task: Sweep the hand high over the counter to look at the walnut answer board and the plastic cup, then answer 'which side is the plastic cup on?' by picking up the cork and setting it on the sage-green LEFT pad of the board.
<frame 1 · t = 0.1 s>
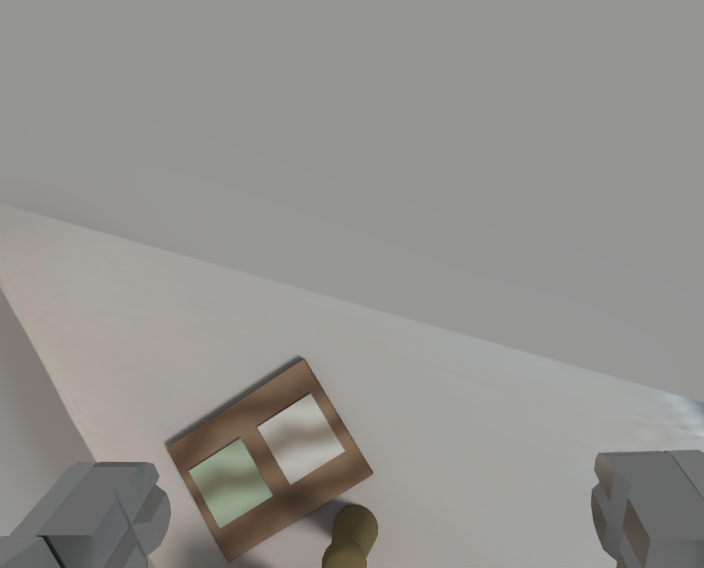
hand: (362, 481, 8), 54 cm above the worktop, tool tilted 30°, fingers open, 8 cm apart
cork: (356, 526, 61), on the worktop
answer board: (267, 458, 64), on the worktop
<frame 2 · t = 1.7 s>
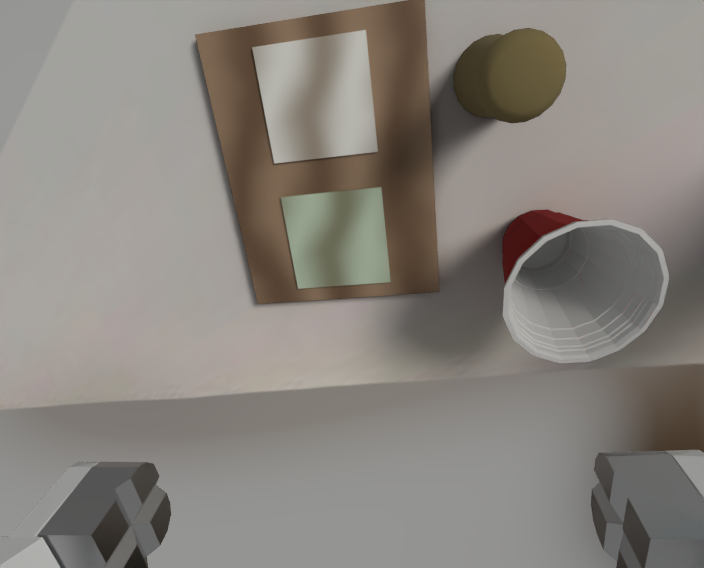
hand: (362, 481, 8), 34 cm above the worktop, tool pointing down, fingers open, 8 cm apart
plastic cup: (537, 239, 41), on the worktop
cork: (491, 77, 36), on the worktop
answer board: (329, 172, 40), on the worktop
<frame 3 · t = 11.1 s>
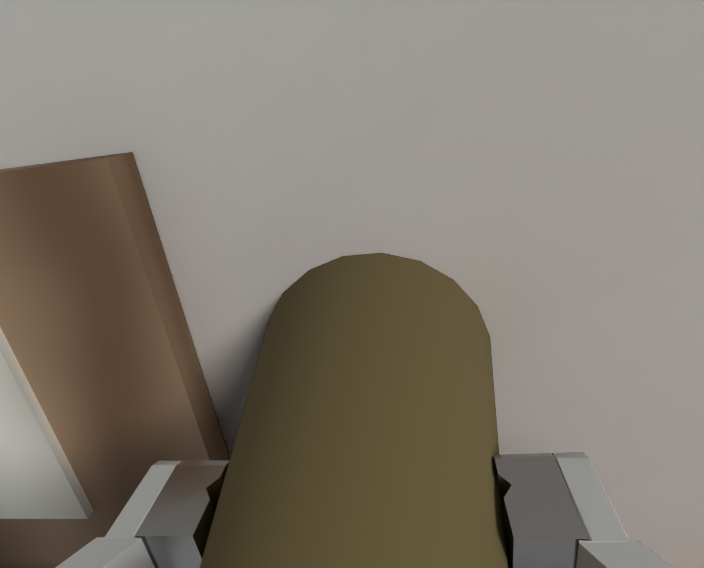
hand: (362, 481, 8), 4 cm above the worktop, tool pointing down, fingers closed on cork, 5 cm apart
cork: (375, 354, 12), on the worktop, touching gripper
answer board: (15, 516, 17), on the worktop
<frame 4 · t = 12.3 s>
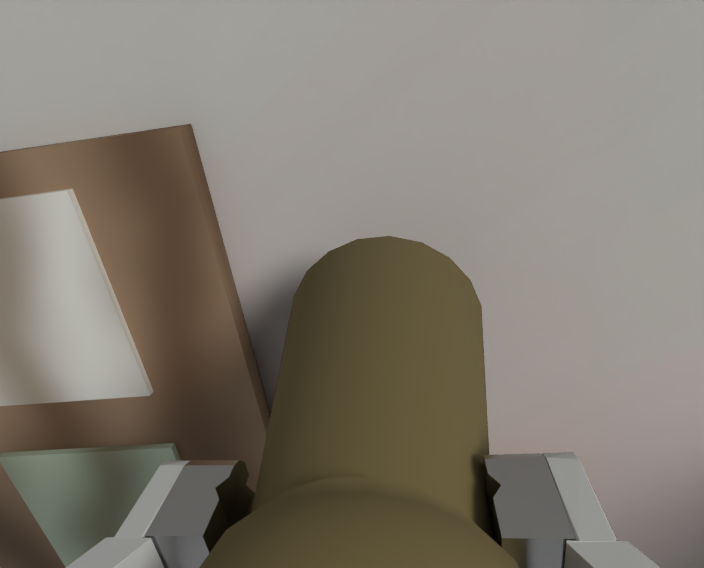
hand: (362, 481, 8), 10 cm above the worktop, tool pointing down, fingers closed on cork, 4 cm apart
cork: (384, 323, 14), point 4 cm above the worktop, touching gripper
answer board: (86, 409, 22), on the worktop
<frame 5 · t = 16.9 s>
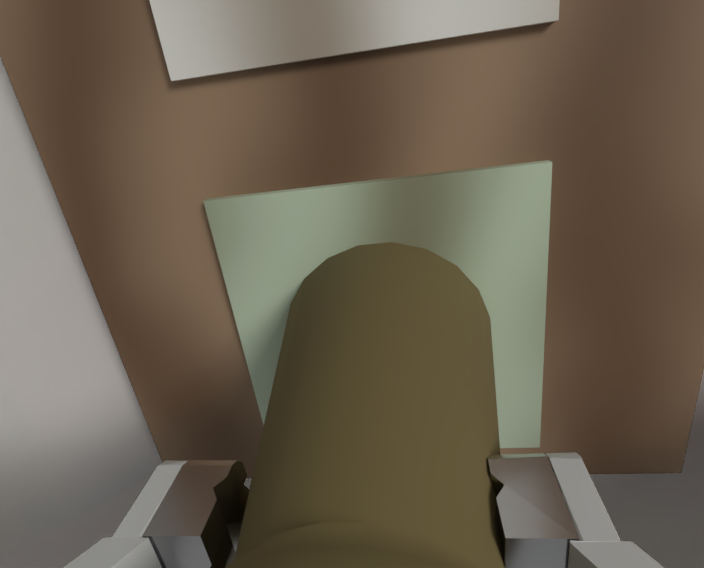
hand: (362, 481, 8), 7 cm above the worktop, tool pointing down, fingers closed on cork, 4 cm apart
cork: (387, 334, 14), point 1 cm above the worktop, touching answer board, gripper
answer board: (364, 117, 12), on the worktop
when the fingers open (7 cm above the worktop, at t = 17.5 s): cork stays where it is, resting on answer board.
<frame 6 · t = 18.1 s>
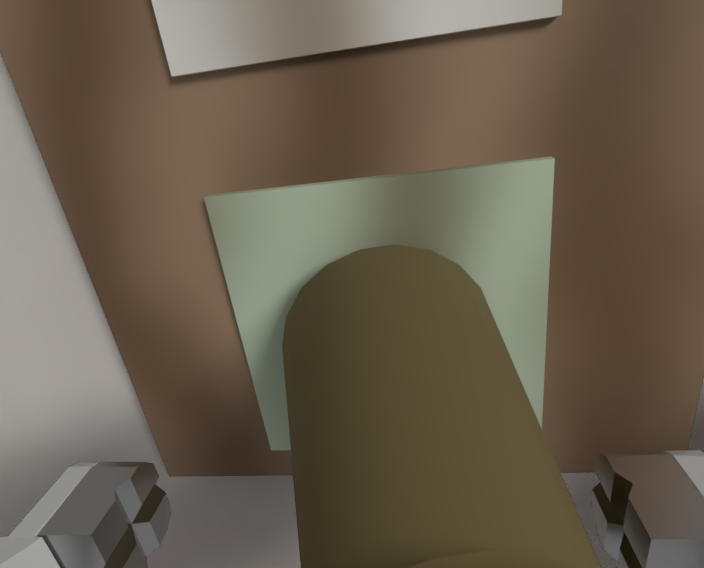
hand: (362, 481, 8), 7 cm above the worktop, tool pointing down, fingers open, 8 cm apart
cork: (387, 341, 13), point 2 cm above the worktop, touching answer board, gripper
answer board: (365, 113, 12), on the worktop
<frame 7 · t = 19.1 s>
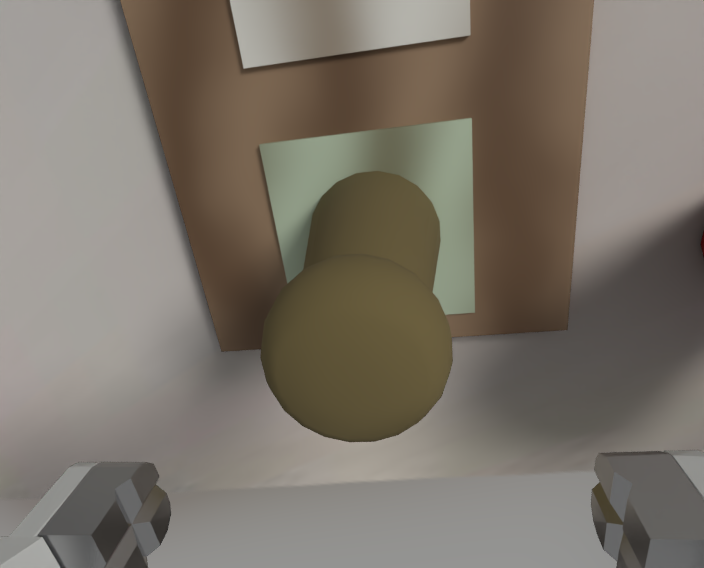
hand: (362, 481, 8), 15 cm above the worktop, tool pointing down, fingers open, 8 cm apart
cork: (374, 235, 21), point 1 cm above the worktop, touching answer board
answer board: (360, 92, 19), on the worktop
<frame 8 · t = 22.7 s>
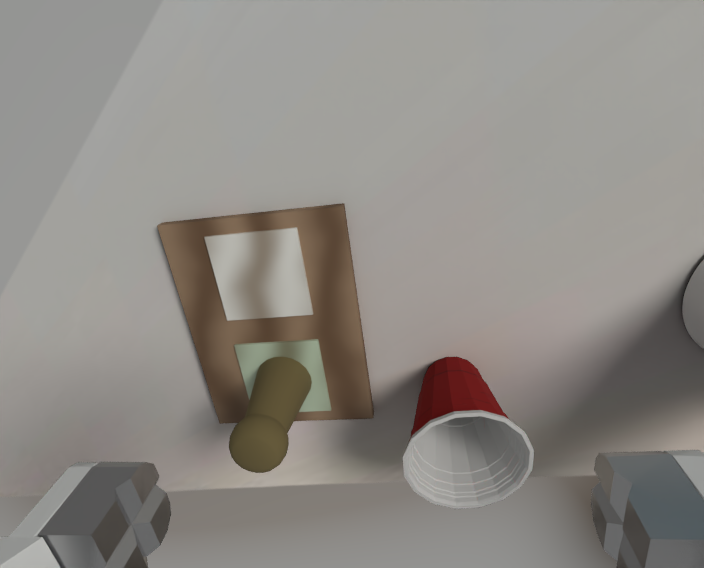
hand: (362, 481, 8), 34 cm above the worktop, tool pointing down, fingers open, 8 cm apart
plastic cup: (453, 378, 48), on the worktop
cork: (284, 378, 49), point 1 cm above the worktop, touching answer board
answer board: (275, 324, 47), on the worktop
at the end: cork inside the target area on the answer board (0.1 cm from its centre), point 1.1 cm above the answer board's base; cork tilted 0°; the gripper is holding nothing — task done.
